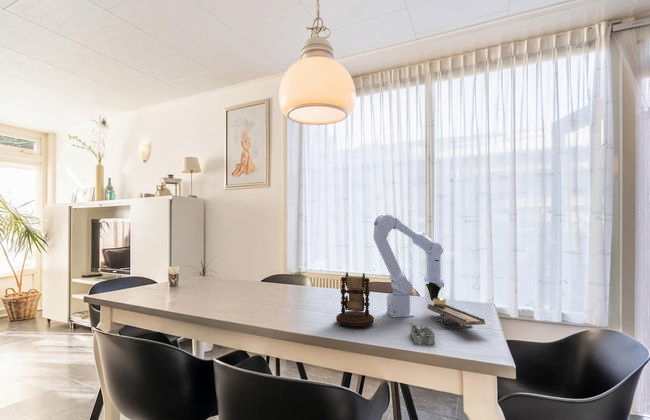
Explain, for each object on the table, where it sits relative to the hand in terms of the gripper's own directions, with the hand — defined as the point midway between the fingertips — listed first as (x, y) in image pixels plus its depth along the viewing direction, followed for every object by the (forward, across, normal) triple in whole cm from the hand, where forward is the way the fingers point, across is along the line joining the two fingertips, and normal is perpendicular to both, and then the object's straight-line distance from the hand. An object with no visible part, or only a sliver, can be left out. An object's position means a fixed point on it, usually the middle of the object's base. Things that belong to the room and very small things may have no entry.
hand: (433, 300), depth 142 cm
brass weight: (+2, -5, 0) cm, 5 cm away
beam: (+2, -16, 0) cm, 16 cm away
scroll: (+6, -10, +38) cm, 40 cm away
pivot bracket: (+6, -16, 0) cm, 17 cm away
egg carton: (+6, -29, +19) cm, 35 cm away
